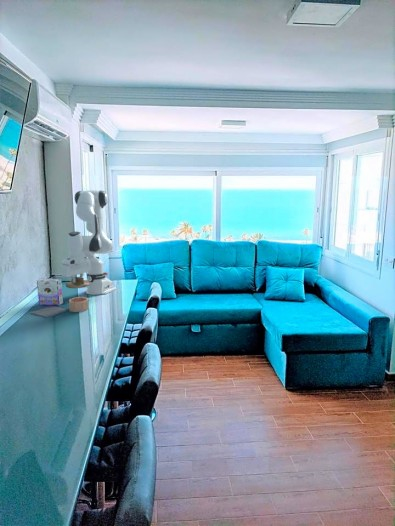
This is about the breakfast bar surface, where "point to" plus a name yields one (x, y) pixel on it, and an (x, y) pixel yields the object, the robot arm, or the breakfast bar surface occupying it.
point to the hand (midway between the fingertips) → (77, 281)
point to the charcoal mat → (49, 311)
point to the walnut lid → (78, 283)
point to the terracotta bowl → (78, 304)
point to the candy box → (50, 291)
